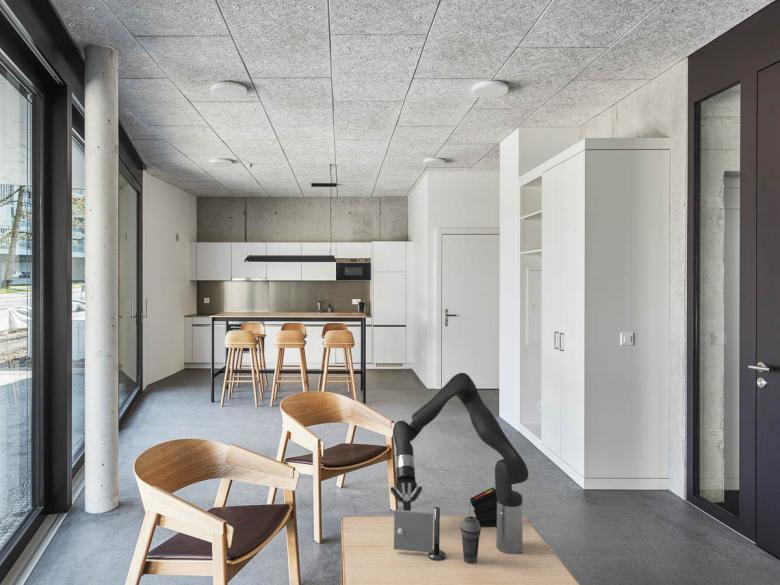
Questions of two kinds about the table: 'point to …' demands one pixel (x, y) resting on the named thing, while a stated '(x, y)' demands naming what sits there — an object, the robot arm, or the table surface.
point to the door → (413, 531)
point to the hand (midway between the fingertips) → (407, 511)
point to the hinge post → (436, 538)
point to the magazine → (486, 508)
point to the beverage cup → (470, 538)
